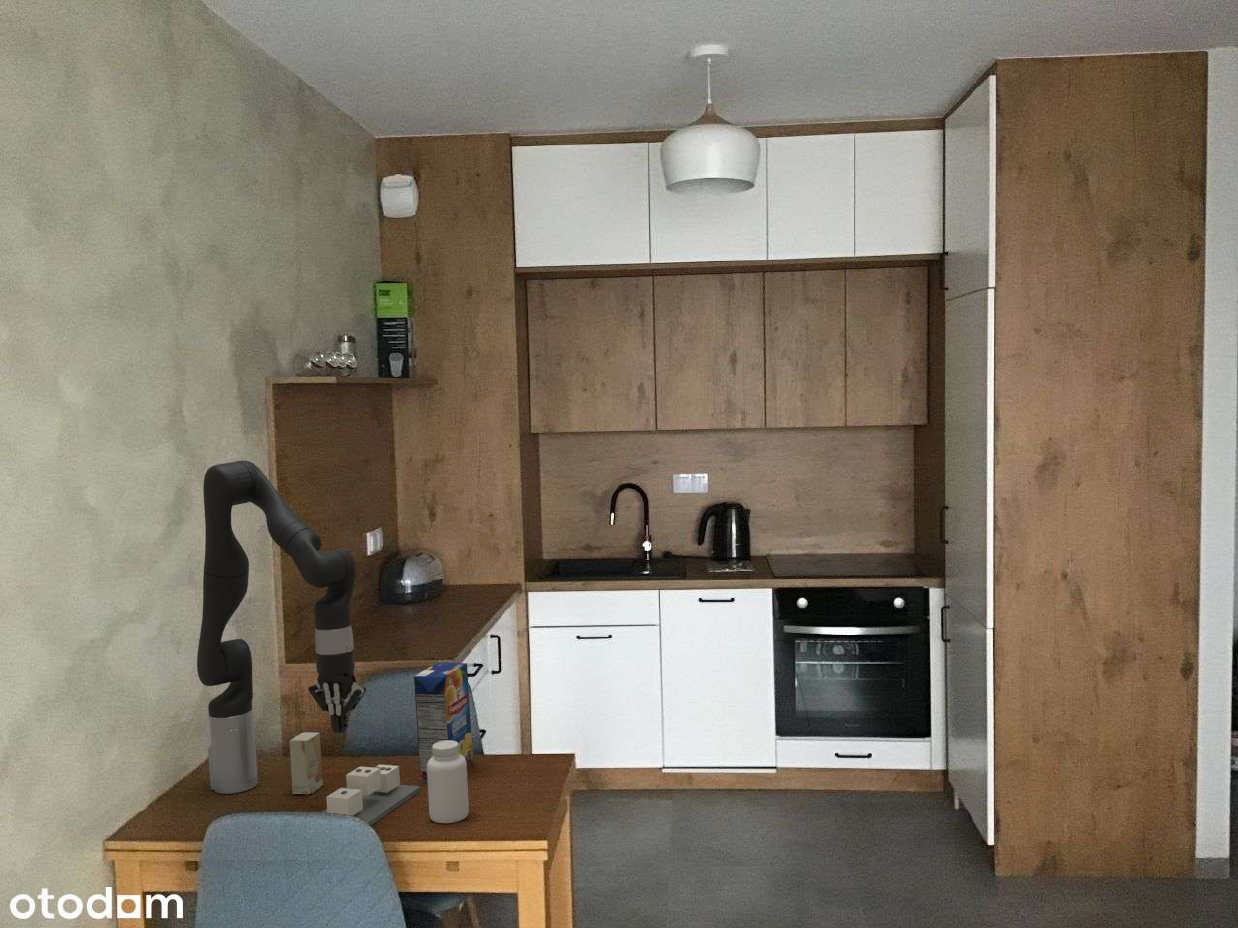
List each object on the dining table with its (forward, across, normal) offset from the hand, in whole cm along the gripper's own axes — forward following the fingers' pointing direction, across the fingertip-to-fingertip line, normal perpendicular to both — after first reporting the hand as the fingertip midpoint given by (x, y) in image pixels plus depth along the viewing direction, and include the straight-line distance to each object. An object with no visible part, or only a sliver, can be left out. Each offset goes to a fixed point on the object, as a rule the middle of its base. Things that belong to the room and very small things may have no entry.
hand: (339, 731), depth 211 cm
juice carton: (+18, +8, +27) cm, 34 cm away
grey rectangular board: (+18, +2, +5) cm, 19 cm away
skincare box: (+18, -18, +11) cm, 28 cm away
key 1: (+16, +2, -2) cm, 16 cm away
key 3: (+16, +1, +12) cm, 20 cm away
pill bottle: (+18, +22, +5) cm, 28 cm away
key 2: (+14, +1, +5) cm, 15 cm away
